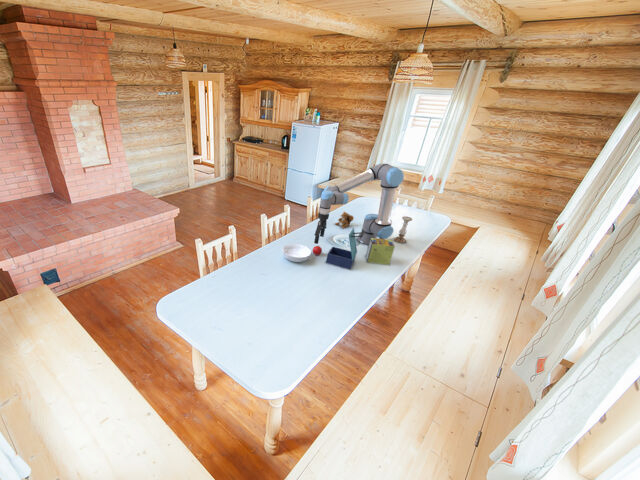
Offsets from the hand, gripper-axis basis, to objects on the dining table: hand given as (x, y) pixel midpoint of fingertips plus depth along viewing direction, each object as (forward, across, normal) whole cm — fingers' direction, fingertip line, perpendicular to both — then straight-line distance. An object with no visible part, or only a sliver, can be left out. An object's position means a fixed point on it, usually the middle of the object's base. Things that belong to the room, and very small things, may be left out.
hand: (318, 239), depth 234 cm
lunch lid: (-4, +2, +24) cm, 25 cm away
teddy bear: (+12, -66, +5) cm, 68 cm away
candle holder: (+12, -61, +53) cm, 82 cm away
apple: (+9, 0, 0) cm, 9 cm away
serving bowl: (+13, +14, -11) cm, 22 cm away
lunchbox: (+12, +2, +19) cm, 23 cm away
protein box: (+12, -16, +42) cm, 46 cm away
